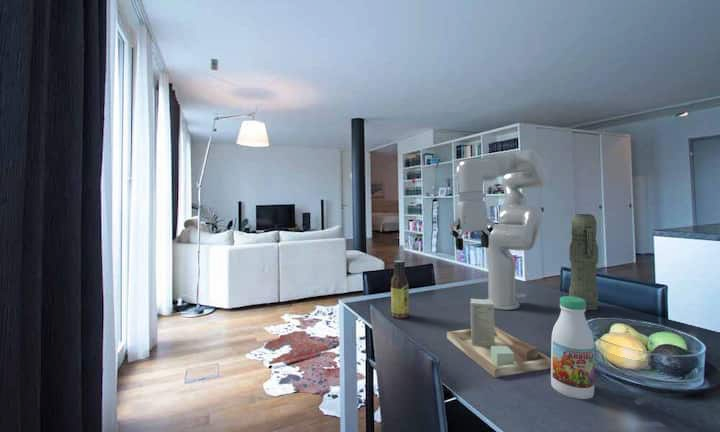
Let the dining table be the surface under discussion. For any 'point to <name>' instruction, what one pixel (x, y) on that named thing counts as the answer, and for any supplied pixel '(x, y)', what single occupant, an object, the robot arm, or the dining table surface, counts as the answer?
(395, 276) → the sauce bottle
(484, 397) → the dining table surface
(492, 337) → the skincare box
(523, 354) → the walnut block
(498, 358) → the sage block
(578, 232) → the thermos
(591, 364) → the milk bottle
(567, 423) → the dining table surface
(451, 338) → the tray
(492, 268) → the robot arm
